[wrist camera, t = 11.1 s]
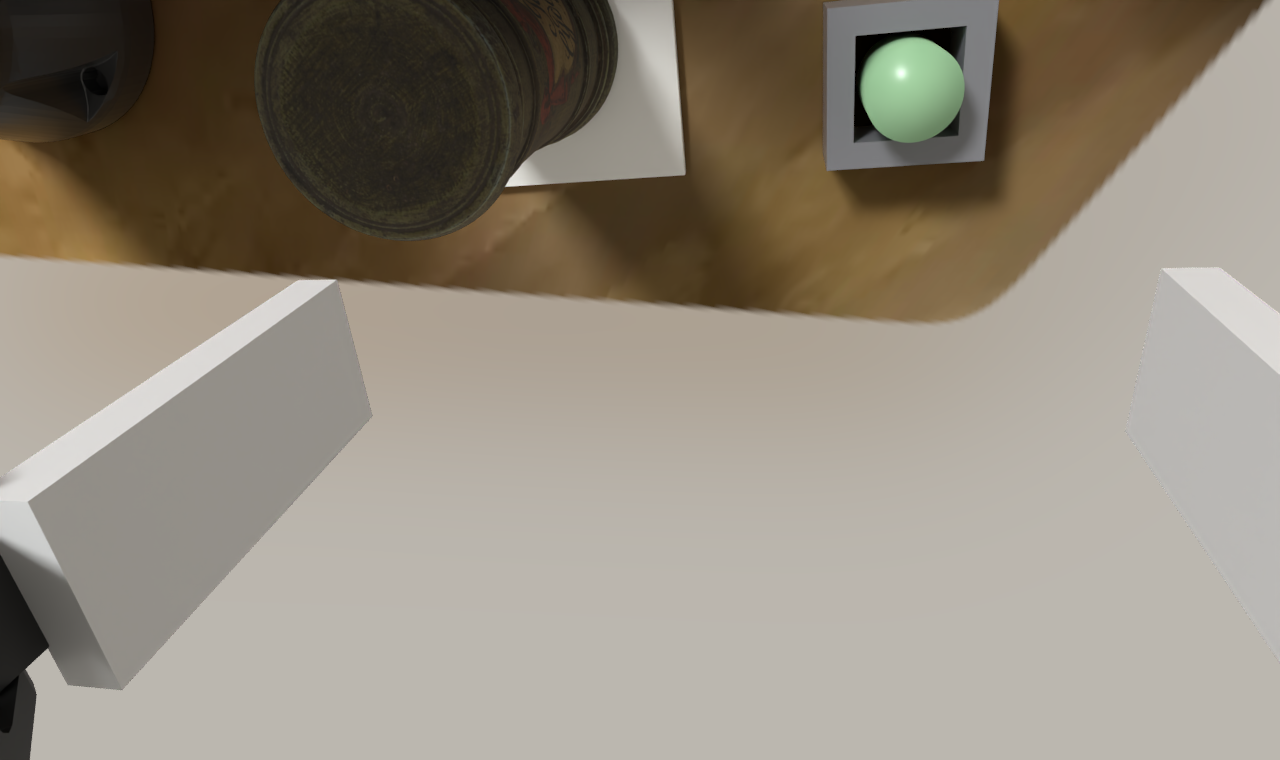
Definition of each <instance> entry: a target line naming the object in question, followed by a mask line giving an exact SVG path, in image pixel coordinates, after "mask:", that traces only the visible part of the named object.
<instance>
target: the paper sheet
mask: <svg viewBox="0 0 1280 760" xmlns="http://www.w3.org/2000/svg"><path fill="white" fill-rule="evenodd" d="M608 2H609V5H610V7H611V10H612V13H613V16H614V20H615V24H616V30H617V36H618V61H617V68H616V73H615V78H614V81H613V84H612V87H611V90H610V92H609V95H608V97H607V99H606V101H605V102H604V104H603V105H602V107H601V109H600V110H599V111H598V113H597V114H596V115H595V116H594V117H593V118H592V119H591V120H590V121H589V122H588V123H587V124H586V125H585V126H584V127H583V128H581V129H580V130H578V131H577V132H575V133H574V134H572V135H570V136H568V137H566V138H564V139H563V140H561V141H559V142H556V143H554V144H551V145H547V146H545V147H543V148H541V149H539V150H537V151H535V152H534V153H533V154H532V155H531V156H530V157H529V158H528V159H527V160H525V161H524V162H523V163H522V165H521V166H520V167H519V169H518V170H517V171H516V172H515V173H514V175H513V176H512V177H511V178H510V179H509V181H508V183H507V184H506V186H505V187H511V186H526V185H541V184H557V183H572V182H587V181H603V180H618V179H633V178H649V177H664V176H679V175H685V174H686V164H685V151H684V138H683V124H682V111H681V98H680V84H679V71H678V58H677V44H676V31H675V18H674V4H673V0H608Z"/></svg>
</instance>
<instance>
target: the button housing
mask: <svg viewBox="0 0 1280 760" xmlns="http://www.w3.org/2000/svg"><path fill="white" fill-rule="evenodd" d="M998 4H999V0H842V1H832V2H823V157H824V161H825V166H826V170H827V171H832V170H847V169H863V168H878V167H894V166H910V165H925V164H941V163H956V162H972V161H984V156H985V145H986V134H987V123H988V113H989V102H990V91H991V80H992V69H993V58H994V48H995V37H996V26H997V15H998ZM948 27H951V32H950V46H949V54H951V55H952V56H953V57H954V59H955V60H956V61H957V63H958V64H959V66H960V68H961V70H962V73H963V77H964V83H965V91H964V98H963V101H962V104H961V107H960V109H959V111H958V113H957V115H956V116H955V118H954V119H953V121H952V122H951V123H950V124H949V125H948V126H947V127H946V128H945V129H944V130H943V131H941V132H940V133H938V134H937V135H935V136H933V137H931V138H929V139H927V140H924V141H920V142H914V143H904V142H898V141H894V140H892V139H889V138H888V137H886V136H884V135H883V134H882V133H880V132H879V131H878V130H877V129H876V128H875V126H874V125H872V126H858V127H854V88H855V36H860V35H871V34H882V33H893V32H904V31H915V30H926V29H937V28H948Z"/></svg>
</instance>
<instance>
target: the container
mask: <svg viewBox="0 0 1280 760" xmlns="http://www.w3.org/2000/svg"><path fill="white" fill-rule="evenodd" d="M617 61H618V36H617V30H616V24H615V20H614V16H613V13H612V10H611V7H610V5H609V2H608V0H281V1H280V2H279V3H278V5H277V6H276V8H275V9H274V11H273V13H272V14H271V16H270V18H269V20H268V22H267V24H266V26H265V28H264V30H263V33H262V35H261V38H260V42H259V45H258V50H257V55H256V61H255V78H254V85H255V95H256V103H257V109H258V113H259V117H260V121H261V124H262V127H263V130H264V133H265V136H266V139H267V141H268V143H269V146H270V148H271V150H272V152H273V154H274V156H275V158H276V160H277V161H278V163H279V165H280V166H281V168H282V169H283V171H284V172H285V174H286V175H287V177H288V178H289V179H290V181H291V182H292V183H293V184H294V186H295V187H296V188H297V189H298V190H299V191H300V192H301V193H302V194H303V195H304V196H305V197H306V198H307V199H308V200H309V201H310V202H311V203H312V204H314V205H315V206H316V207H317V208H318V209H320V210H321V211H322V212H324V213H325V214H327V215H328V216H330V217H331V218H333V219H334V220H336V221H338V222H340V223H342V224H343V225H345V226H347V227H350V228H352V229H354V230H356V231H359V232H362V233H365V234H368V235H371V236H375V237H379V238H384V239H390V240H400V241H415V240H426V239H432V238H436V237H441V236H444V235H447V234H450V233H452V232H455V231H457V230H459V229H461V228H463V227H465V226H467V225H469V224H470V223H472V222H473V221H475V220H476V219H477V218H479V217H480V216H481V215H482V214H483V213H485V212H486V211H487V210H488V209H489V208H490V207H491V206H492V204H493V203H494V202H495V201H496V200H497V198H498V197H499V196H500V194H501V193H502V191H503V190H504V188H505V186H506V184H507V183H508V181H509V179H510V178H511V177H512V176H513V175H514V173H515V172H516V171H517V170H518V169H519V167H520V166H521V165H522V163H523V162H524V161H525V160H527V159H528V158H529V157H530V156H531V155H532V154H533V153H534V152H535V151H537V150H539V149H541V148H543V147H545V146H547V145H551V144H554V143H556V142H559V141H561V140H563V139H564V138H566V137H568V136H570V135H572V134H574V133H575V132H577V131H578V130H580V129H581V128H583V127H584V126H585V125H586V124H587V123H588V122H589V121H590V120H591V119H592V118H593V117H594V116H595V115H596V114H597V113H598V111H599V110H600V109H601V107H602V105H603V104H604V102H605V101H606V99H607V97H608V95H609V92H610V90H611V87H612V84H613V81H614V78H615V73H616V68H617Z"/></svg>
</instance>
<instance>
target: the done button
mask: <svg viewBox="0 0 1280 760" xmlns="http://www.w3.org/2000/svg"><path fill="white" fill-rule="evenodd" d="M856 83H857V92H858V95H859V98H860V100H861V102H862V104H863V106H864V108H865V110H866V112H867V114H868V116H869V118H870V120H871V122H872V124H873V125H874V126H875V128H876V129H877V130H878V131H879V132H880V133H882V134H883V135H884V136H886V137H888V138H889V139H892V140H894V141H898V142H904V143H914V142H920V141H924V140H927V139H929V138H931V137H933V136H935V135H937V134H938V133H940V132H941V131H943V130H944V129H945V128H946V127H947V126H948V125H949V124H950V123H951V122H952V121H953V119H954V118H955V116H956V115H957V113H958V111H959V109H960V107H961V104H962V101H963V98H964V91H965V83H964V77H963V73H962V70H961V68H960V66H959V64H958V63H957V61H956V60H955V59H954V57H953V56H952V55H951V54H949V53H948V52H947V51H946V50H944V49H943V48H941V47H940V46H938V45H937V44H936V43H934V42H933V41H931V40H930V39H928V38H927V37H925V36H923V35H920V34H917V33H913V32H900V33H895V34H891V35H889V36H887V37H884V38H883V39H881V40H879V41H878V42H877V43H875V44H874V45H873V46H872V47H871V48H870V49H869V50H868V52H867V53H866V54H865V56H864V58H863V59H862V61H861V63H860V66H859V69H858V73H857V81H856Z"/></svg>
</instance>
